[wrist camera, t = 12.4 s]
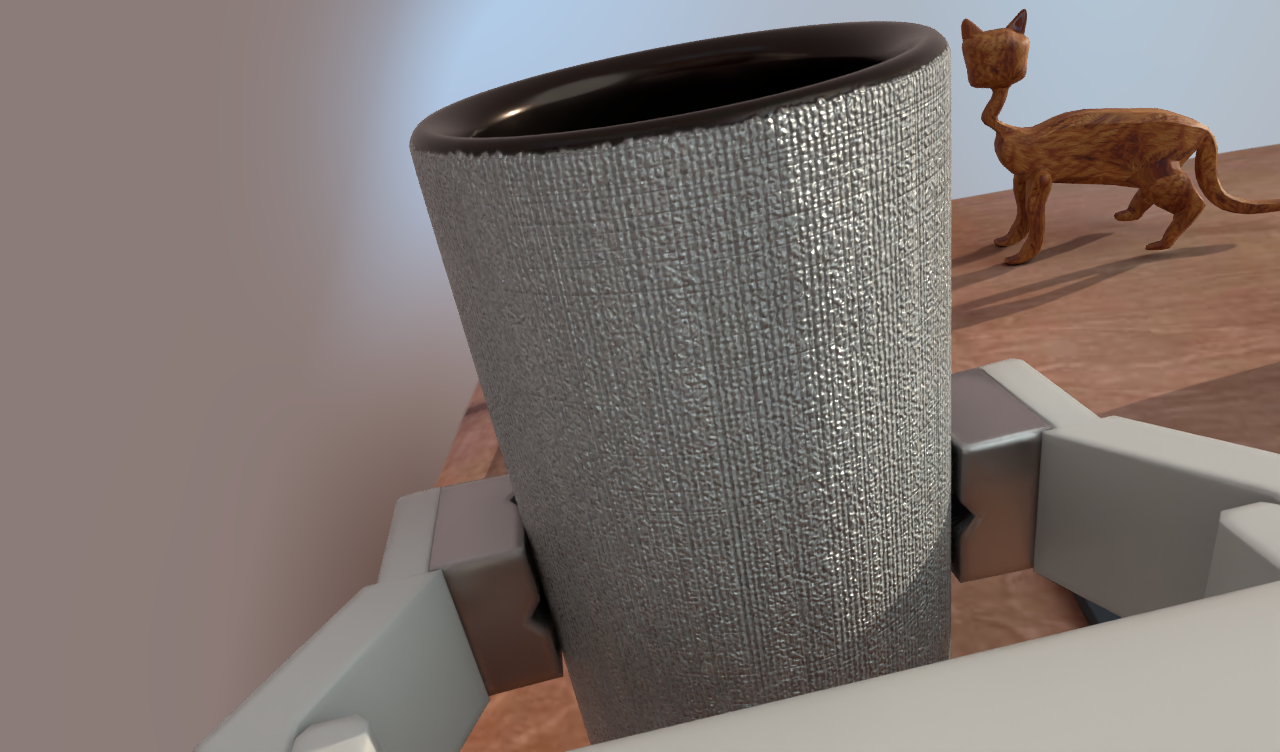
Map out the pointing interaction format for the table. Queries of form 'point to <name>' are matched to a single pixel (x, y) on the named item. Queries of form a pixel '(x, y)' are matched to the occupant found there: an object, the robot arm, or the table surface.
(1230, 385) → the table surface
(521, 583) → the robot arm
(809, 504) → the planter
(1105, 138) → the cat figurine
